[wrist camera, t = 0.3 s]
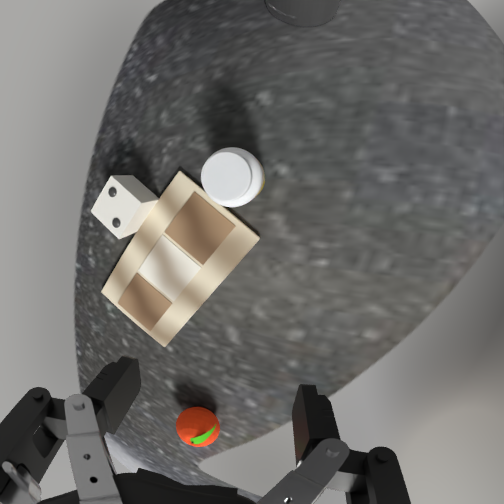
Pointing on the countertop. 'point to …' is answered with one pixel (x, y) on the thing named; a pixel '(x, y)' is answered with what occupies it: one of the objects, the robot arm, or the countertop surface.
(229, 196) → the supplement bottle
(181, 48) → the countertop surface
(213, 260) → the board
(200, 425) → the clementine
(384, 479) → the robot arm
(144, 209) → the die
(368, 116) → the countertop surface
